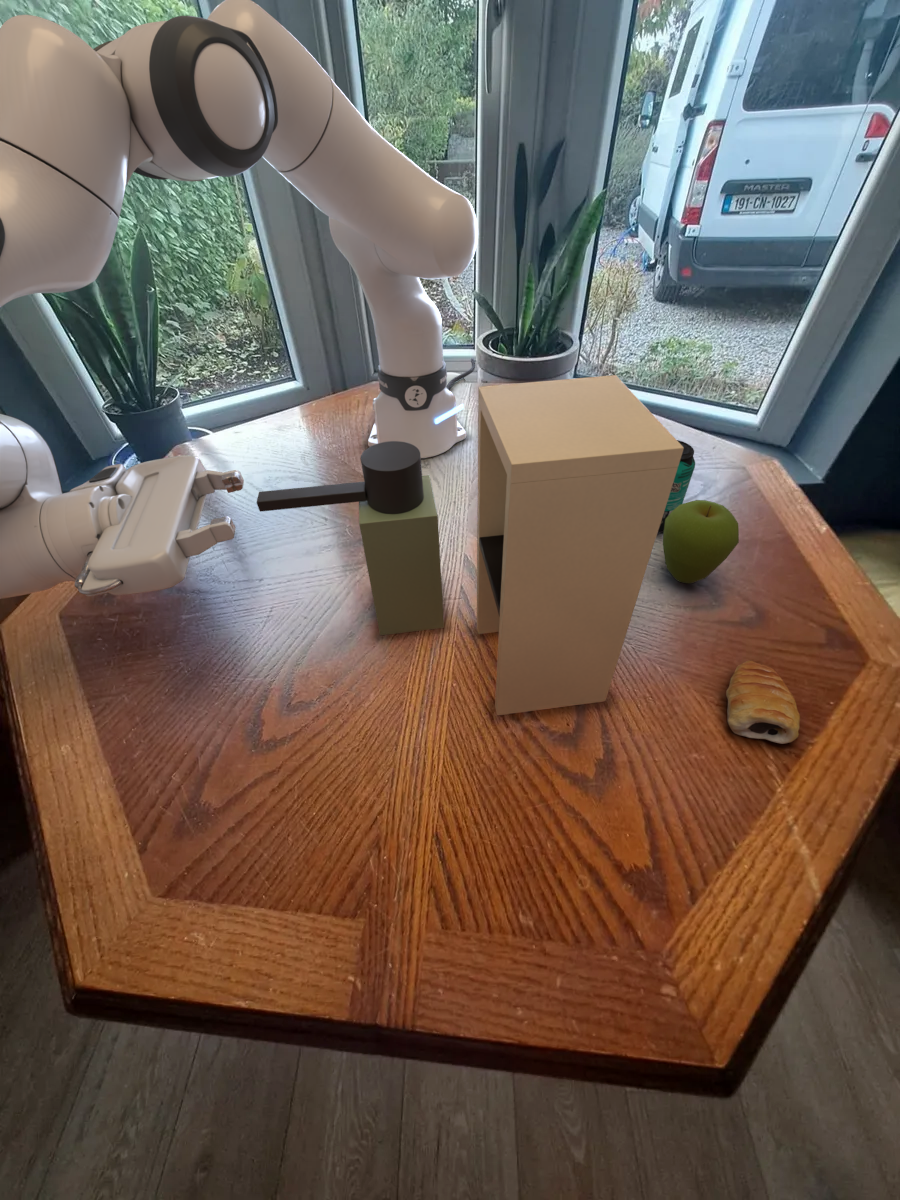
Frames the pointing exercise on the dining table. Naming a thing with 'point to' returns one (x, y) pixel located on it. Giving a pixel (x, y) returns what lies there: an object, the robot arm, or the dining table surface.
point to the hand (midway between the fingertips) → (237, 501)
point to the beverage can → (680, 482)
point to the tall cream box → (565, 531)
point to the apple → (698, 539)
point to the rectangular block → (404, 565)
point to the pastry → (761, 705)
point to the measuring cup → (364, 484)
